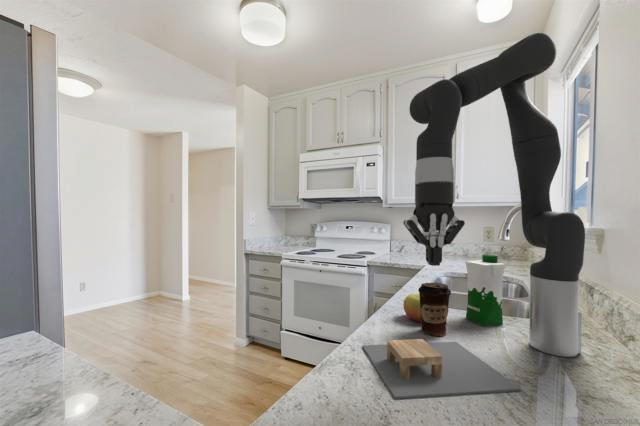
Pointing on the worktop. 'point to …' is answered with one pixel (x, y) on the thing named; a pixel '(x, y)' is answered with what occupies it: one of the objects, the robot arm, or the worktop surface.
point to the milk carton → (485, 290)
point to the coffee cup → (434, 308)
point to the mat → (457, 374)
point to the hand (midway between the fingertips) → (433, 265)
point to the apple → (413, 307)
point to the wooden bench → (413, 356)
